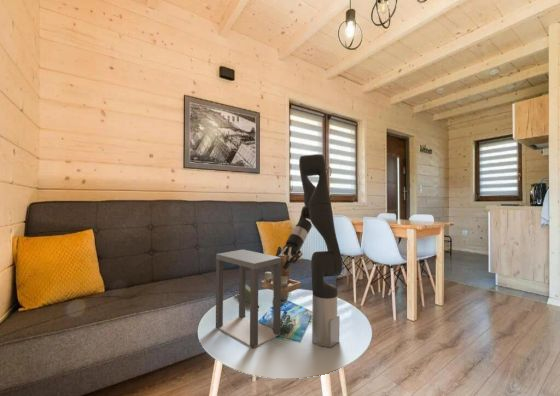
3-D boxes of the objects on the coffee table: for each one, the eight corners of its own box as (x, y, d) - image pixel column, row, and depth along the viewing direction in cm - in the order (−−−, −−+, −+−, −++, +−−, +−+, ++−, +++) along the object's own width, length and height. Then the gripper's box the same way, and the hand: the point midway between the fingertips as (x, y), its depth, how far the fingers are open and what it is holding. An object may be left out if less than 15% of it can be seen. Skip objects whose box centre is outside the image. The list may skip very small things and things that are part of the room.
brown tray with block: (300, 287, 123) (301, 256, 123) (284, 294, 115) (284, 260, 115) (277, 280, 133) (277, 251, 133) (260, 286, 125) (260, 255, 125)
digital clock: (278, 290, 157) (278, 272, 157) (293, 292, 154) (293, 273, 154) (267, 301, 142) (267, 280, 142) (284, 303, 139) (284, 282, 139)
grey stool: (280, 334, 107) (281, 257, 107) (253, 348, 97) (254, 263, 97) (242, 316, 123) (242, 249, 123) (215, 327, 112) (216, 254, 112)
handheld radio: (243, 292, 154) (261, 309, 132) (238, 293, 152) (255, 310, 130) (243, 280, 154) (261, 295, 131) (237, 281, 152) (254, 296, 130)
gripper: (282, 231, 135) (264, 260, 127) (305, 234, 126) (288, 266, 117) (289, 241, 139) (272, 269, 131) (312, 244, 130) (296, 275, 121)
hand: (280, 267), depth 124 cm, fingers closed on brown tray with block, 4 cm apart
